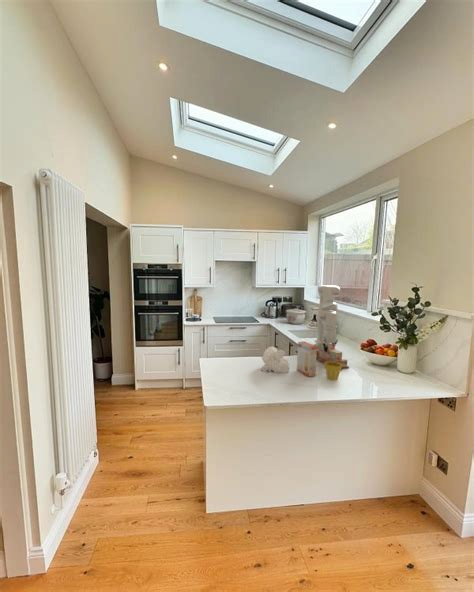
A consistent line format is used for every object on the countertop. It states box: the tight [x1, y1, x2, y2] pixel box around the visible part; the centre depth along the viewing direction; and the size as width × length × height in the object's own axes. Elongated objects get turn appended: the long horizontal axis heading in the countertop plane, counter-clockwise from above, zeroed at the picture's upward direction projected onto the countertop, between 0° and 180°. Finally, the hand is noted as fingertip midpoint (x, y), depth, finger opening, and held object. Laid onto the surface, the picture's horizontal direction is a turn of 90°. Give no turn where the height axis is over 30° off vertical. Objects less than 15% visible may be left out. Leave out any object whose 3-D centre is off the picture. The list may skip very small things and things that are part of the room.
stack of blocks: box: [317, 342, 343, 362], centre depth 226 cm, size 21×6×12 cm, turn 20°
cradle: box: [316, 349, 350, 370], centre depth 227 cm, size 30×12×6 cm, turn 23°
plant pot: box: [324, 362, 342, 381], centre depth 194 cm, size 10×10×10 cm
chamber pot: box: [285, 307, 307, 325], centre depth 390 cm, size 28×27×21 cm
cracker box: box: [296, 340, 318, 378], centre depth 202 cm, size 14×6×21 cm, turn 23°
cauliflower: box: [260, 346, 290, 374], centre depth 207 cm, size 19×20×20 cm
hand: (329, 350), depth 226 cm, fingers closed on stack of blocks, 6 cm apart
